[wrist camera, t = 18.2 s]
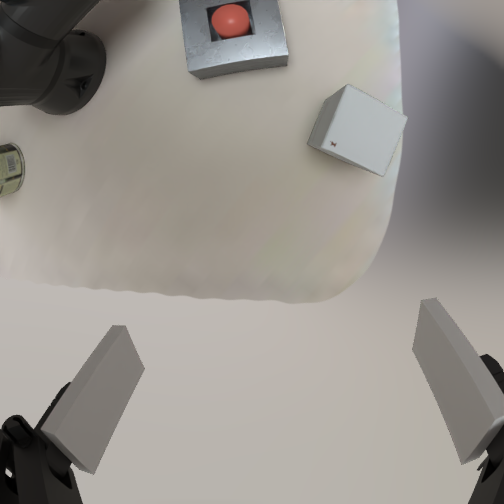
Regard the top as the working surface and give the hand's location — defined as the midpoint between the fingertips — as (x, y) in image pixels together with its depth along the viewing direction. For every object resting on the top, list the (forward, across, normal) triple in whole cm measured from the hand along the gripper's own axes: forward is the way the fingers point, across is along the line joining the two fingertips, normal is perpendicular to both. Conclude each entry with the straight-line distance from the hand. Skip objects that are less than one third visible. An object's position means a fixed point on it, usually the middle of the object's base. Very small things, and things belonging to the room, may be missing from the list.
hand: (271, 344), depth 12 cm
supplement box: (+32, +10, +8) cm, 34 cm away
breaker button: (+30, -2, +24) cm, 39 cm away
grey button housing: (+32, -2, +24) cm, 40 cm away
